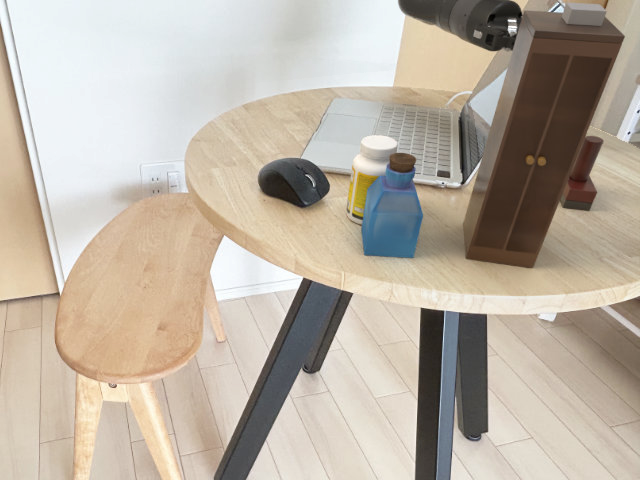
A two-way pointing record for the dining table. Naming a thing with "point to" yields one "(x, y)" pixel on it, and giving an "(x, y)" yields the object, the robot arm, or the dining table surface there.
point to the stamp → (582, 177)
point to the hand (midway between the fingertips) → (557, 46)
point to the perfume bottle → (393, 211)
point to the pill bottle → (367, 172)
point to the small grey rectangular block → (584, 14)
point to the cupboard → (536, 134)
